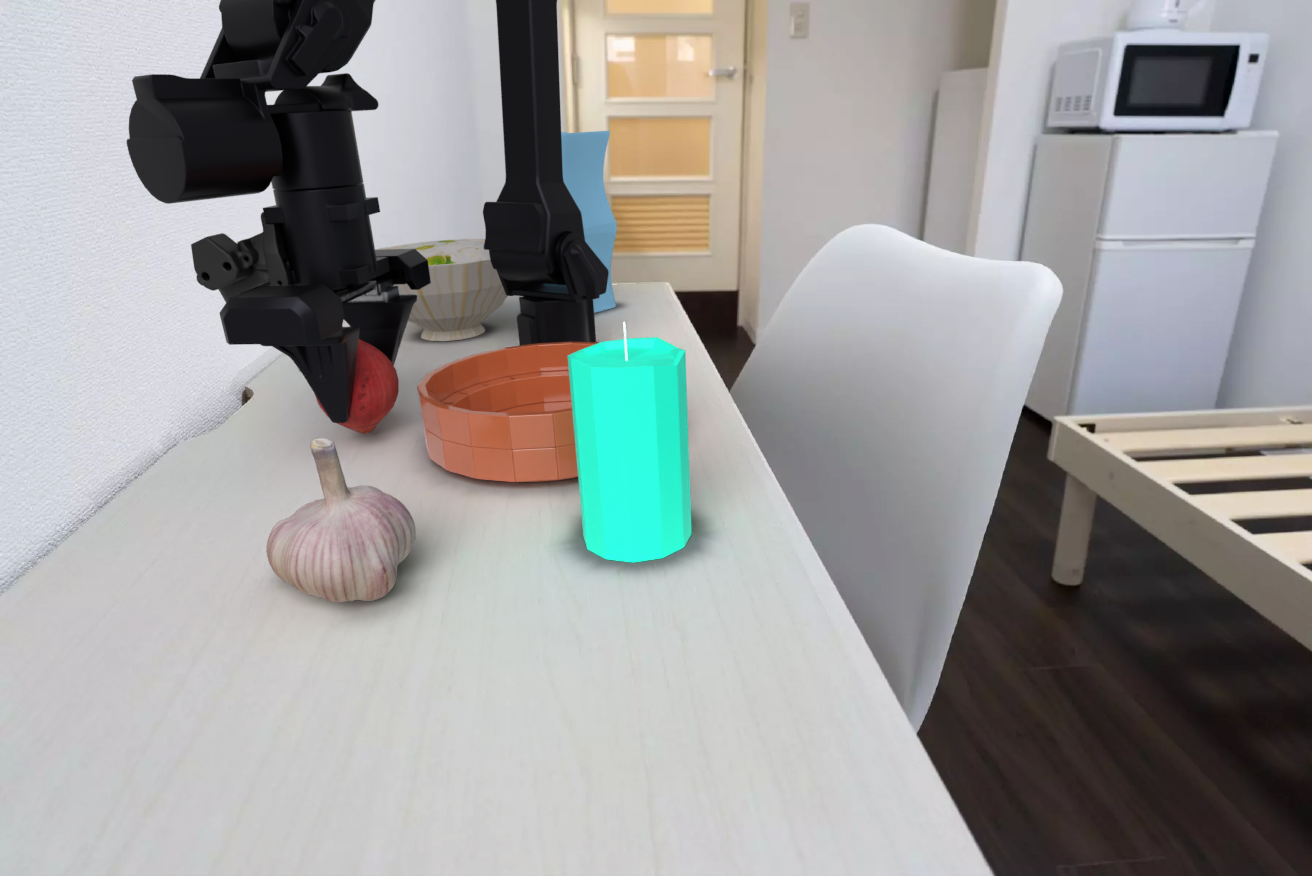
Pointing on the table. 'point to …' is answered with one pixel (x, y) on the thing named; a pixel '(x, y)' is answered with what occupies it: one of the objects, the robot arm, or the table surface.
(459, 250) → the bowl
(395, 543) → the garlic bulb
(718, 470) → the table surface
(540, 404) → the terracotta bowl
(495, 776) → the table surface
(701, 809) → the table surface
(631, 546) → the candle
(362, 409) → the onion
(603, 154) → the vase
